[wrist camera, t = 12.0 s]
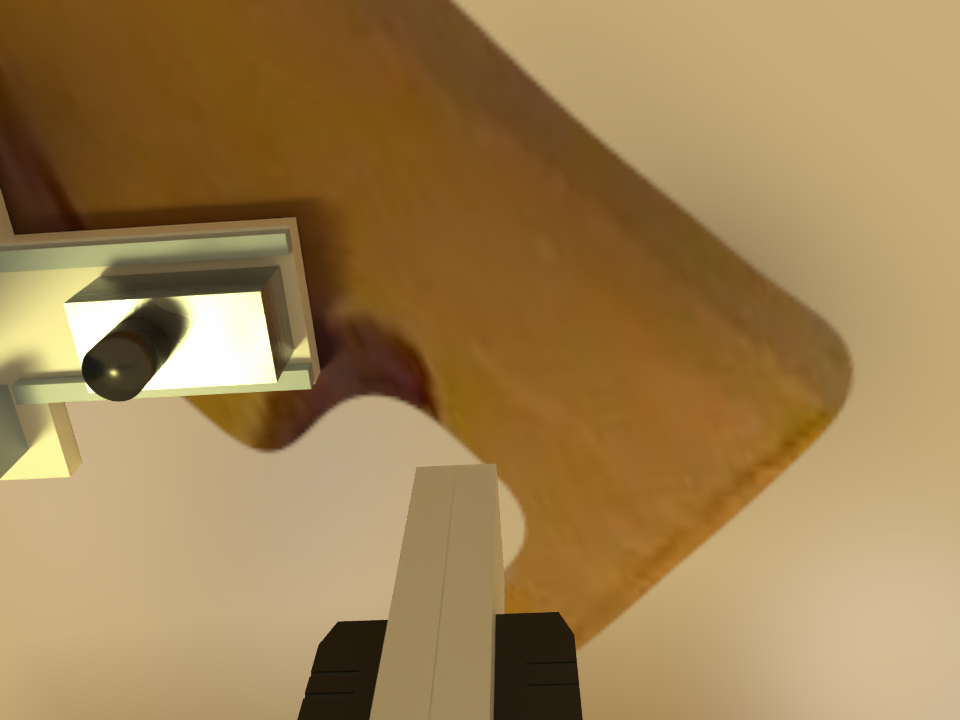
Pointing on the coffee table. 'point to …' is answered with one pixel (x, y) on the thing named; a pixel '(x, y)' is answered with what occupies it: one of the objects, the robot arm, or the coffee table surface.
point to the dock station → (113, 252)
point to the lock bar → (181, 330)
